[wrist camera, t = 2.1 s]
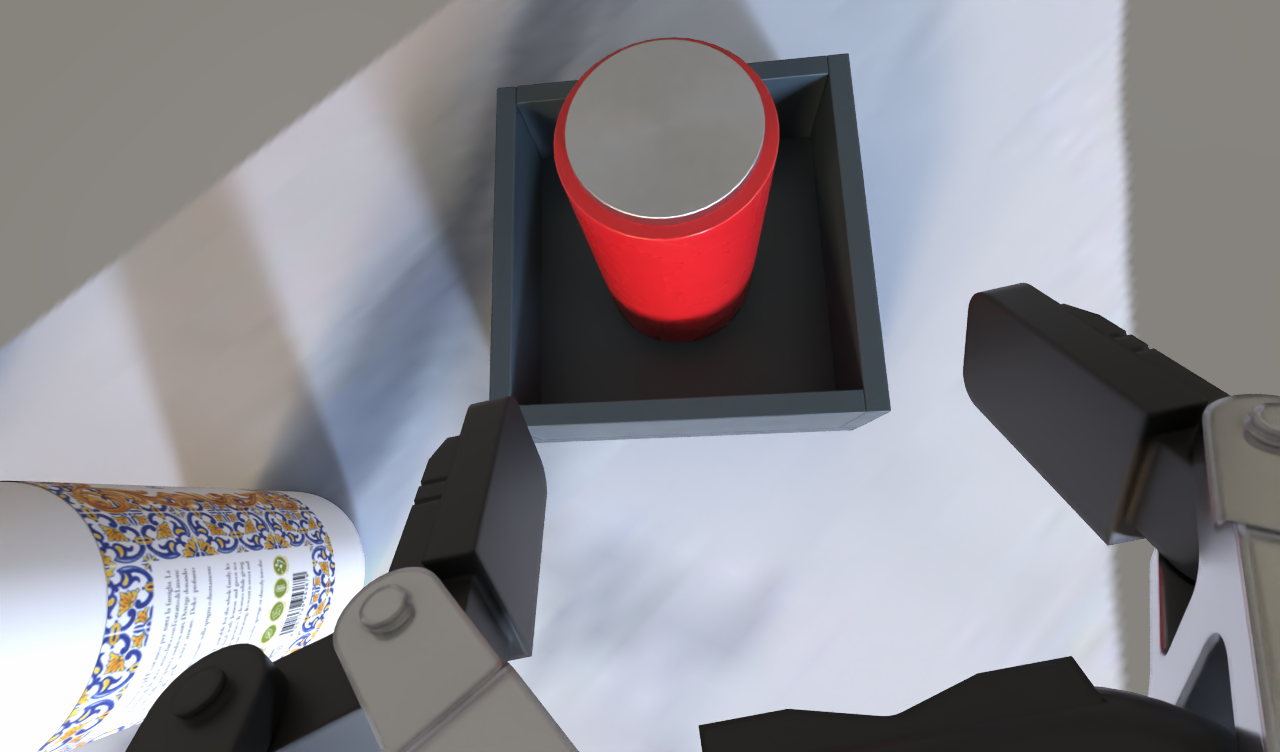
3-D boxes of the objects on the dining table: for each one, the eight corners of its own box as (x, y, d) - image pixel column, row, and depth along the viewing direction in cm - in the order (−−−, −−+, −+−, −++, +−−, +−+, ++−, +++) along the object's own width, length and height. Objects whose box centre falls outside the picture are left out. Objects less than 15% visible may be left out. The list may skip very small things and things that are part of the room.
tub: (528, 443, 26) (487, 428, 21) (531, 158, 29) (496, 87, 24) (854, 430, 24) (891, 411, 20) (823, 132, 27) (848, 52, 23)
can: (610, 346, 25) (548, 241, 15) (608, 215, 27) (549, 37, 16) (755, 339, 25) (791, 223, 15) (745, 205, 26) (772, 13, 16)
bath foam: (364, 477, 26) (-608, 395, 7) (378, 645, 25) (-834, 1164, 5) (215, 508, 27) (-1104, 515, 7) (220, 675, 25) (-1449, 1261, 6)
